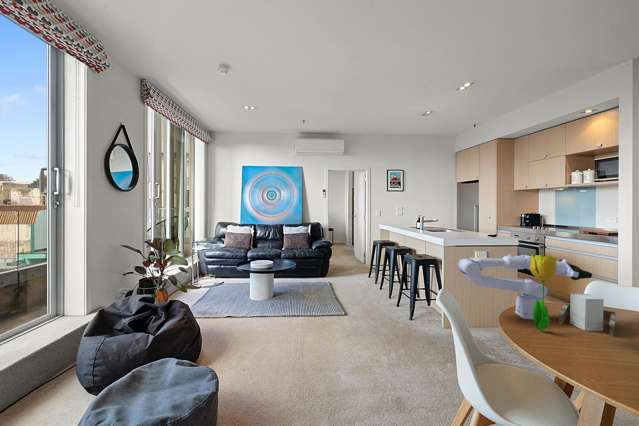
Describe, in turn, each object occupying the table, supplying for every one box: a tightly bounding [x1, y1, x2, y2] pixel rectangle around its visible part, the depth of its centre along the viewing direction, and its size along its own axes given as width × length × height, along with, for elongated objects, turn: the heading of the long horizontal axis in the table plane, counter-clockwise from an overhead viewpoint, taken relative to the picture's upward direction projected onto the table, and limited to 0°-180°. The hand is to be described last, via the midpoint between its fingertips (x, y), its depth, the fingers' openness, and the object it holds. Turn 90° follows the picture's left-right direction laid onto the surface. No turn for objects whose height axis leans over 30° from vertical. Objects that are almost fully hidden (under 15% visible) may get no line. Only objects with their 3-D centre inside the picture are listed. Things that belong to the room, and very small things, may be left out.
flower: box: [529, 254, 557, 332], centre depth 115 cm, size 9×8×30 cm
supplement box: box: [569, 293, 605, 332], centre depth 120 cm, size 7×7×13 cm
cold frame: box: [558, 302, 617, 337], centre depth 123 cm, size 17×16×5 cm
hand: (584, 272), depth 128 cm, fingers open, 7 cm apart
